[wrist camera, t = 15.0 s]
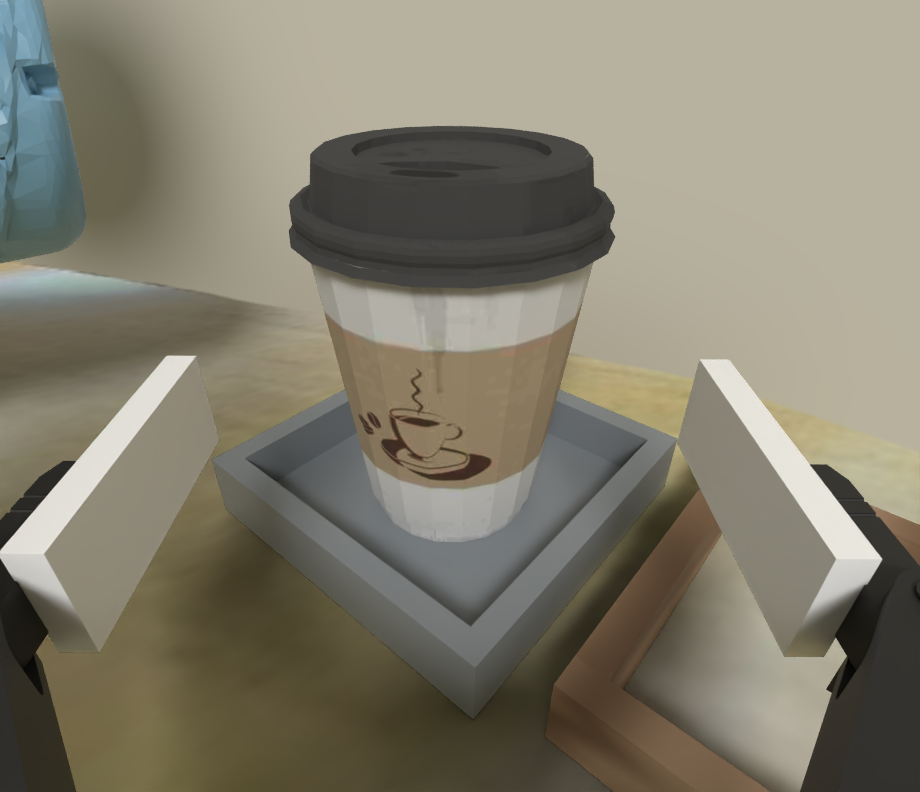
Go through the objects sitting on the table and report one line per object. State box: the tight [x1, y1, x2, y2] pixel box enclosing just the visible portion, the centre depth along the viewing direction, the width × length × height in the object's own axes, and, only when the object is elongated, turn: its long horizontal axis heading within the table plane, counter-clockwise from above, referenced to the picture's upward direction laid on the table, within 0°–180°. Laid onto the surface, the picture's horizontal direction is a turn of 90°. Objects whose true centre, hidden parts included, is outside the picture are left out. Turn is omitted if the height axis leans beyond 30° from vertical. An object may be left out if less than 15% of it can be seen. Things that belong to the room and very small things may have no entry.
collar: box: [545, 488, 920, 792], centre depth 19 cm, size 15×15×3 cm
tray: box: [212, 389, 677, 719], centre depth 27 cm, size 15×15×3 cm
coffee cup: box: [289, 126, 615, 543], centre depth 23 cm, size 11×11×15 cm
